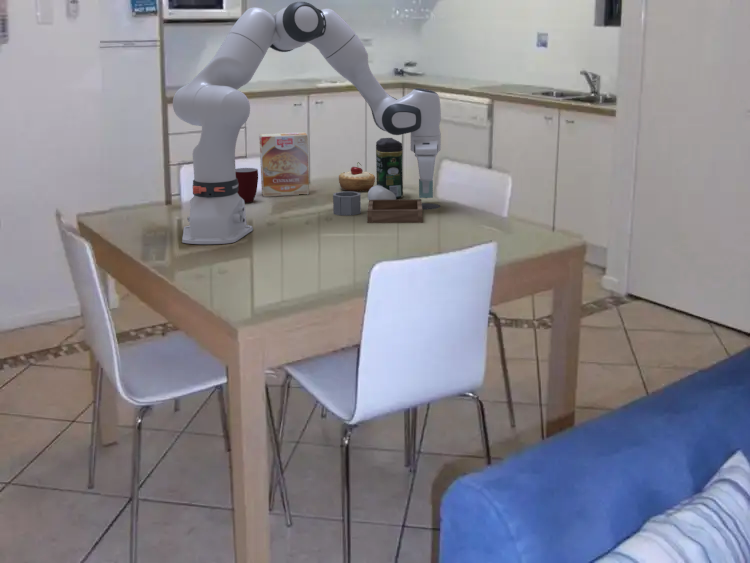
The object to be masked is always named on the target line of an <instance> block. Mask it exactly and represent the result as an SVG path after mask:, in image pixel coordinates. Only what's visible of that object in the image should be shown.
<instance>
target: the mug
mask: <svg viewBox="0 0 750 563" xmlns="http://www.w3.org/2000/svg"><path fill="white" fill-rule="evenodd" d="M235 170H236V178H237V179H238V192H237V193H238V194H239V196H240V197H241V198H242V199H243V200H244V202H245V204H249V203H252V202H254V200H255V198H256V195H257V191H258V184H259V183H258V182H259V171H258V170H259V169H258V168H255V167H240V168H239V167H238V168H235Z"/></svg>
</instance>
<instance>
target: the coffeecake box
mask: <svg viewBox="0 0 750 563" xmlns="http://www.w3.org/2000/svg"><path fill="white" fill-rule="evenodd" d="M258 138H259V155H260V156H259V157H260V158H259V159H260V180H261V183H260V184H261V185H260V186H261V194H262V196H263V197H264V198H267V197H281V196H282V197H283V196H286V197H287V196H300V195H299V194H307V195H310V176H309V175H310V174H309V173H310V172H309V145H308V143H309V140H308V134H307V133H306V132H305V131H302V132H278V133H277V132H276V133H259V135H258Z"/></svg>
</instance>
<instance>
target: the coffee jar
mask: <svg viewBox="0 0 750 563" xmlns="http://www.w3.org/2000/svg"><path fill="white" fill-rule="evenodd" d="M403 149H404V148H403V143H402V142H400V141H399V140H398V139H397V140H396V139H395V138H393V137H381V138H379V139H378V140H377V141H376V142H375V159H376V160H375V162H376V163H375V167H376V168H375V169H376V171H375V173H376V174H375V175H376V185H379V186H382V187H384V188H386V189H387V190H389V191H391V192H393V193H394V194H395V196H396V199H399V198H402V197H403V196H404V193H403V192H404V189H403V185H404V184H403V152H404V151H403Z"/></svg>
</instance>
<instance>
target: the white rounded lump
mask: <svg viewBox="0 0 750 563" xmlns="http://www.w3.org/2000/svg"><path fill="white" fill-rule="evenodd" d="M367 200H368V201H369V200H397V198H396V196H395V194H394V193H393V192H391V191H389V190H387V189H386V188H384V187H382V186H379V185H377V184H376V185H373V187H372V188H371V189H370V190H368V192H367Z"/></svg>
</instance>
